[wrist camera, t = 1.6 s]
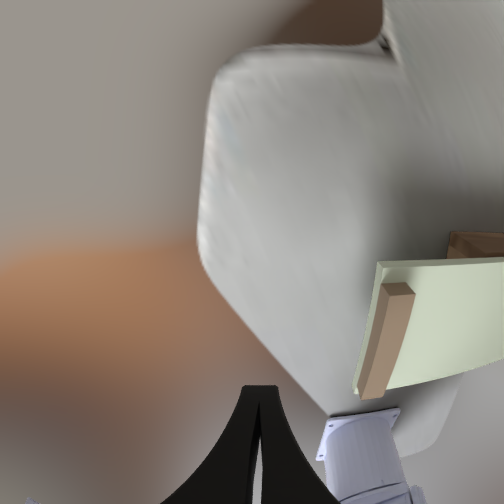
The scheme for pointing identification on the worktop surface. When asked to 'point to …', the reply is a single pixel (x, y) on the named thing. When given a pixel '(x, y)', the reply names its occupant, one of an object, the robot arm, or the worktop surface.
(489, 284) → the wood-edged cream panel
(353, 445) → the robot arm
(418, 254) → the worktop surface
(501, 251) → the pencil box
